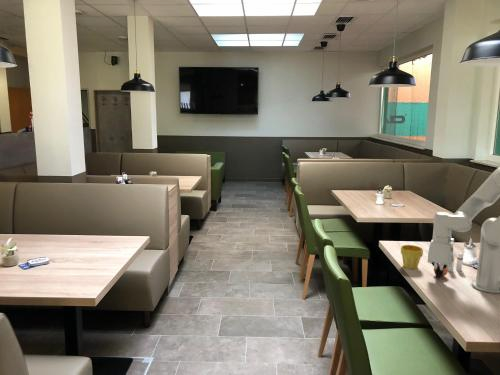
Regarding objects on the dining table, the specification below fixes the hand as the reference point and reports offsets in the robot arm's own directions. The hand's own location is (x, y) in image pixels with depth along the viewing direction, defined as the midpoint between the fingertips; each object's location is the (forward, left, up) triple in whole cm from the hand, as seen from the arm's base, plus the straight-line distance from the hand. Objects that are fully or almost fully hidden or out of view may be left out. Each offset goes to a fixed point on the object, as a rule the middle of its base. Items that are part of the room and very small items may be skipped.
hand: (438, 276), depth 189 cm
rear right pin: (-2, -19, -1) cm, 20 cm away
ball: (+1, -5, +2) cm, 5 cm away
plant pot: (+16, -6, -2) cm, 18 cm away
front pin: (0, -15, -1) cm, 15 cm away
